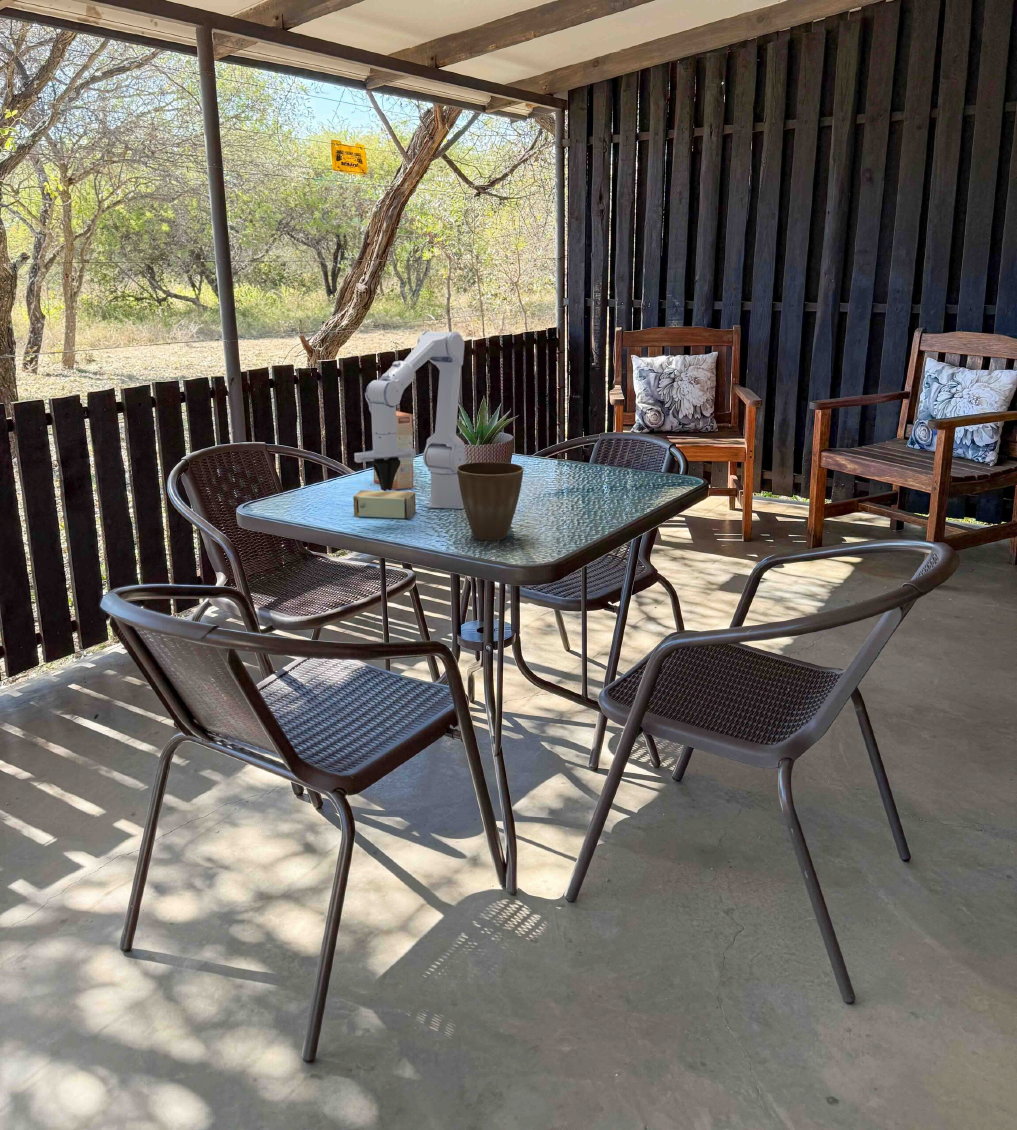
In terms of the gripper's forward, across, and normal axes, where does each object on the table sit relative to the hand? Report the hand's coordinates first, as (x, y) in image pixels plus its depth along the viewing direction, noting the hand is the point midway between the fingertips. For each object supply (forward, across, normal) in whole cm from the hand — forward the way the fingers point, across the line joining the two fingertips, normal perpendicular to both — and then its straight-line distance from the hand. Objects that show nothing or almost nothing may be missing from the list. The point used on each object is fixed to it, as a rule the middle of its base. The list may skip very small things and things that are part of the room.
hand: (386, 489), depth 226 cm
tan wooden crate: (+8, -3, -10) cm, 13 cm away
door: (+8, -2, -6) cm, 10 cm away
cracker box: (+9, -18, -42) cm, 46 cm away
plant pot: (+9, -16, +22) cm, 29 cm away
